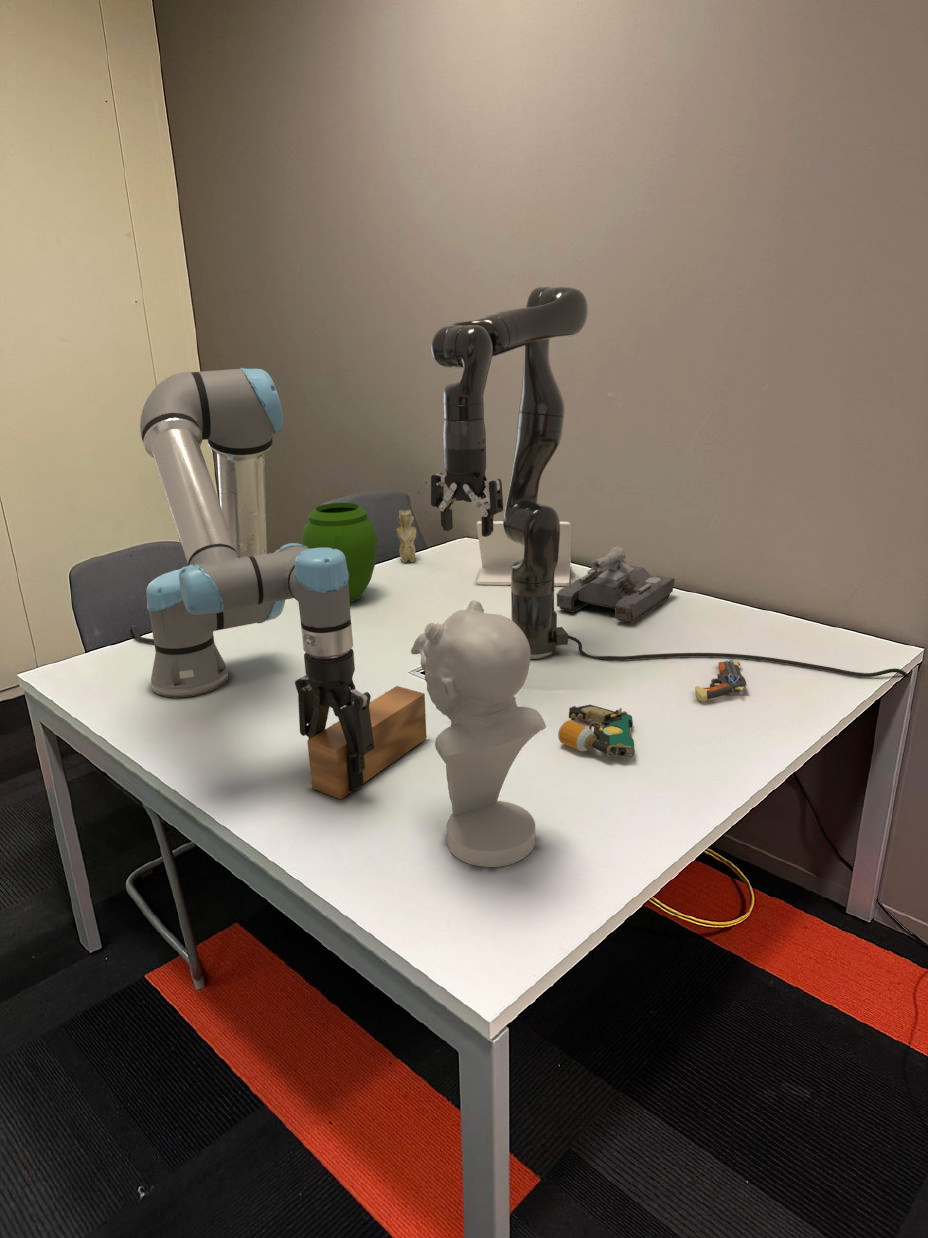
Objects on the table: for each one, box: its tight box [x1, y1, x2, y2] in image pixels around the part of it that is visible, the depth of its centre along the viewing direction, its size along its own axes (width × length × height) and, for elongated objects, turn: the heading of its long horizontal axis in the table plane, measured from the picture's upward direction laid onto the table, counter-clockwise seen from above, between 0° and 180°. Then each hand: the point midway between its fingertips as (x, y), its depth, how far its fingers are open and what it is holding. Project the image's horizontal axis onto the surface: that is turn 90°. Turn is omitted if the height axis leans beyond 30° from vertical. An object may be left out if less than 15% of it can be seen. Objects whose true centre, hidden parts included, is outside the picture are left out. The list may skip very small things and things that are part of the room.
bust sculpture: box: [410, 599, 547, 868], centre depth 121 cm, size 16×24×35 cm
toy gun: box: [694, 659, 749, 702], centre depth 169 cm, size 3×19×10 cm
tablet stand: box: [476, 520, 572, 587], centre depth 236 cm, size 18×25×17 cm
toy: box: [556, 546, 676, 624], centre depth 212 cm, size 25×20×15 cm
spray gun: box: [557, 704, 636, 759], centre depth 150 cm, size 4×17×15 cm
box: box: [306, 685, 427, 800], centre depth 143 cm, size 23×6×9 cm, turn 146°
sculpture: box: [396, 509, 417, 563], centre depth 253 cm, size 6×7×15 cm
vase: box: [301, 502, 379, 603], centre depth 220 cm, size 20×20×24 cm
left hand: (340, 781), depth 138 cm, fingers closed on box, 6 cm apart
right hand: (467, 532), depth 157 cm, fingers open, 8 cm apart
